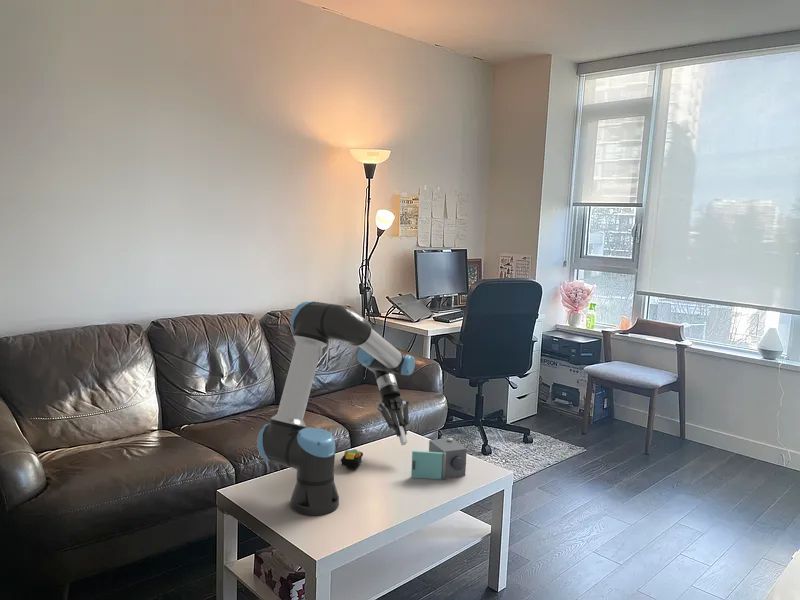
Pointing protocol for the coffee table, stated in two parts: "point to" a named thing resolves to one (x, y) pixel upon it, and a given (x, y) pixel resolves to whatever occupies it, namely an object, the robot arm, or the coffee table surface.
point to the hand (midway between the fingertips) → (404, 443)
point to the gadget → (351, 458)
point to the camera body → (451, 456)
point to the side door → (428, 465)
